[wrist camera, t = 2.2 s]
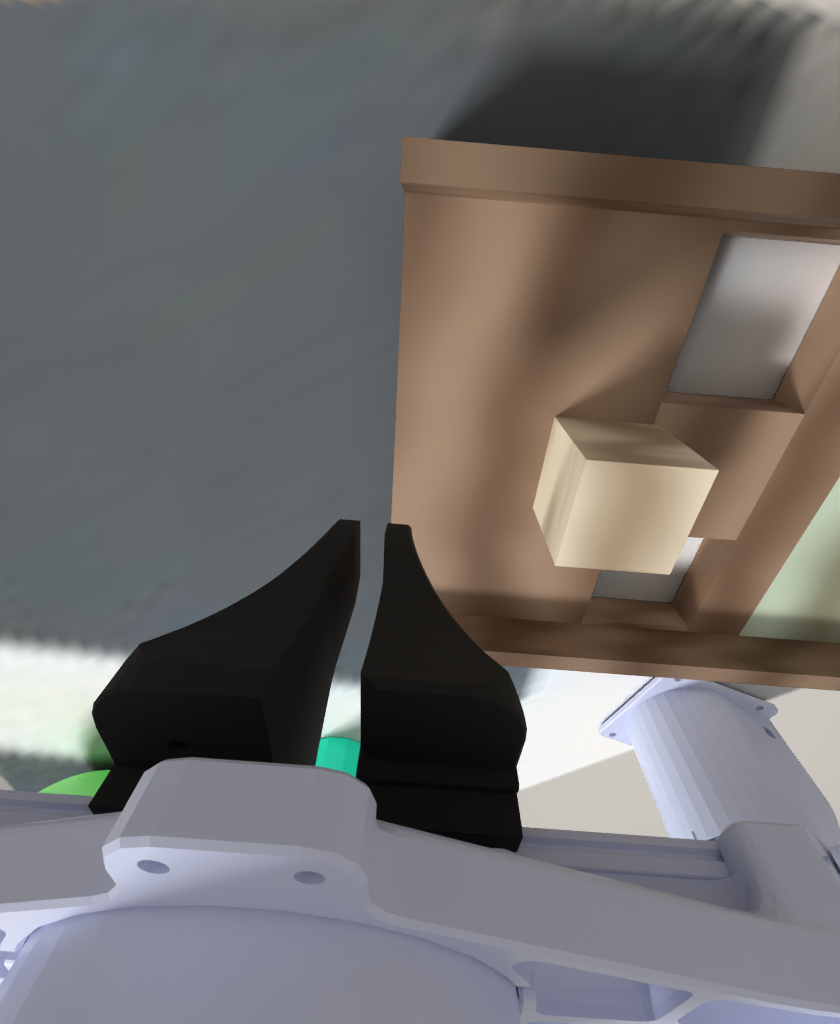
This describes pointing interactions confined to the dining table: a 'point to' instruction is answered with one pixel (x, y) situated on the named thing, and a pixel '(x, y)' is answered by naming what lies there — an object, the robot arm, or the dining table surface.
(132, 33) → the dining table surface
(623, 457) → the beech block
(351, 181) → the dining table surface
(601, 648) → the box
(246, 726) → the robot arm
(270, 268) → the dining table surface
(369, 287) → the dining table surface
